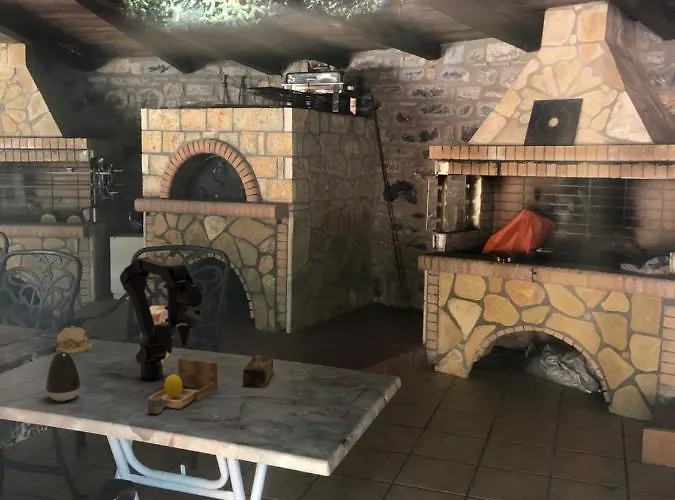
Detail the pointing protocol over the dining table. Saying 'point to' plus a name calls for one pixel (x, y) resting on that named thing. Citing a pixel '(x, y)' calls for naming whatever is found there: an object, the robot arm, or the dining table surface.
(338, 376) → the dining table surface
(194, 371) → the open wooden box
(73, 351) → the ceramic model
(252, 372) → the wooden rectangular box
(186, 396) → the wooden drawer
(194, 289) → the robot arm
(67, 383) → the brown tapered dome
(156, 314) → the coffeecake box
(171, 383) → the lemon
